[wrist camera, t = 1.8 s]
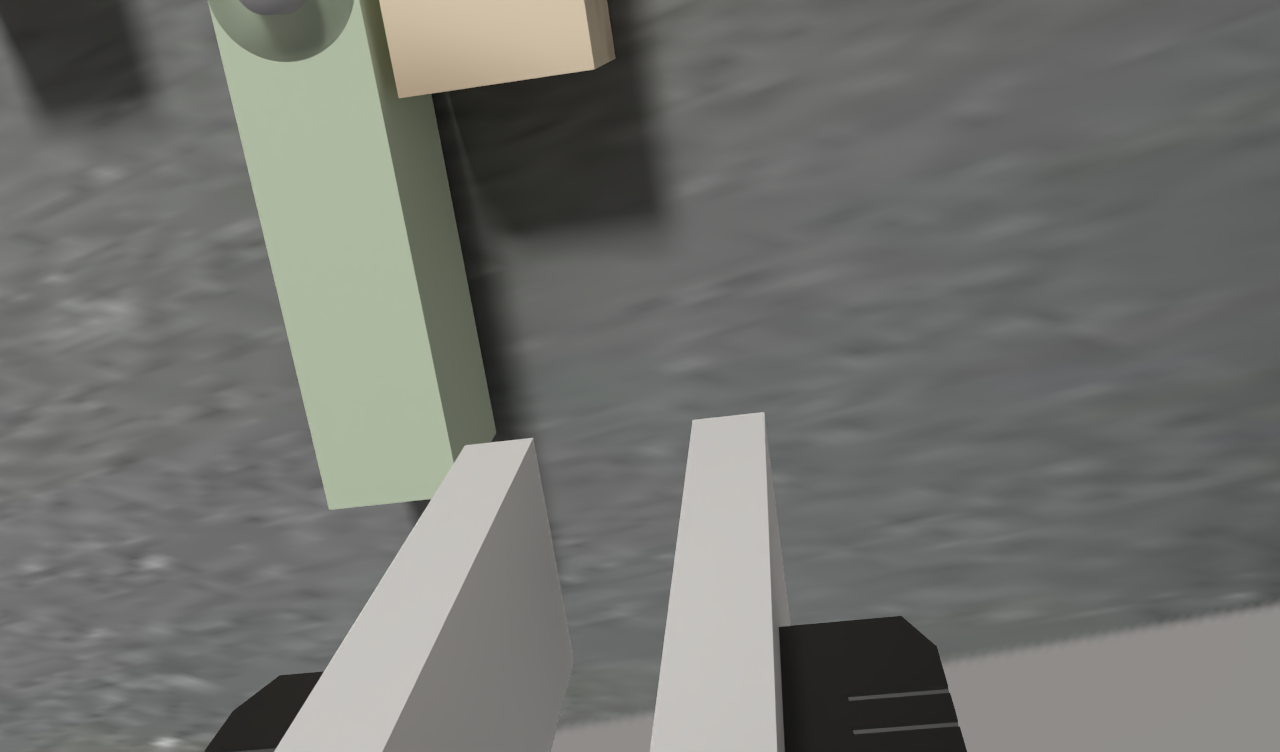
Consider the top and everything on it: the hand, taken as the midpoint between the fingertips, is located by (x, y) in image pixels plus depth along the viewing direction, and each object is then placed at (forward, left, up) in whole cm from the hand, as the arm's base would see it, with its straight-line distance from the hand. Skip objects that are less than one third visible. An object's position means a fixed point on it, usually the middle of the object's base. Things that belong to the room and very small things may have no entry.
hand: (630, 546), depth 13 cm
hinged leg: (-2, -7, -16) cm, 18 cm away
